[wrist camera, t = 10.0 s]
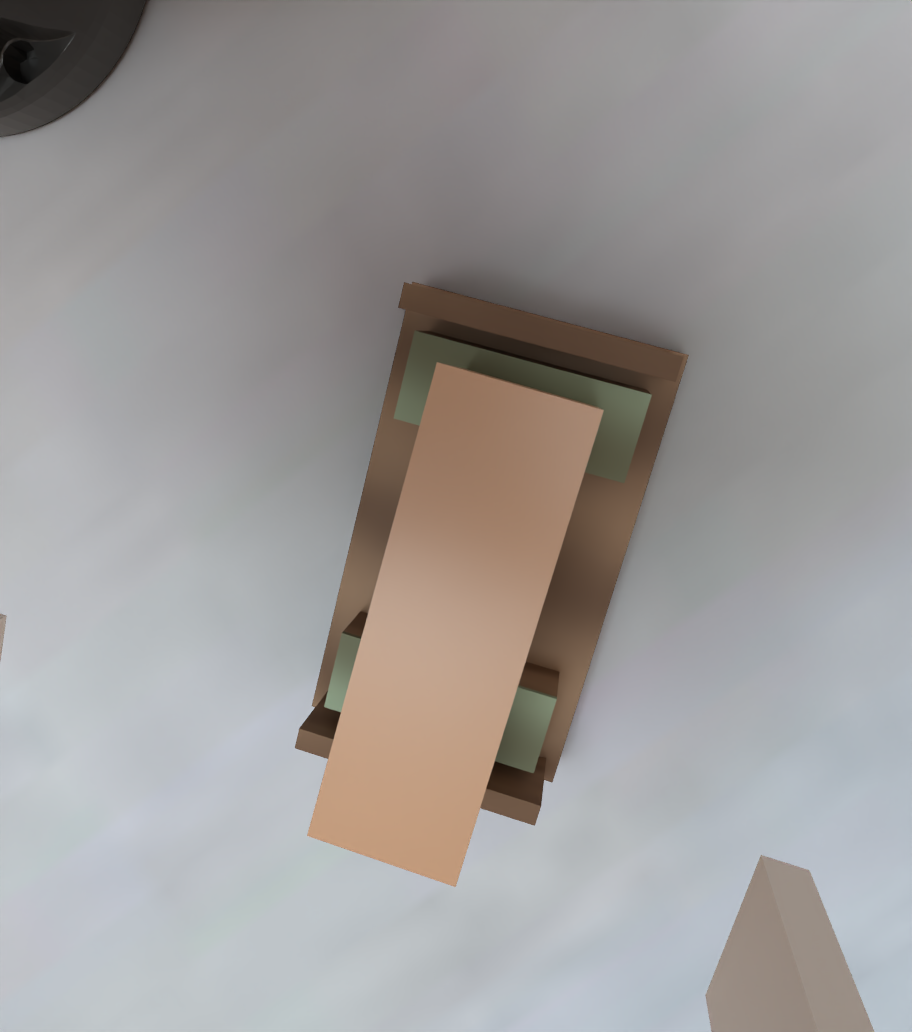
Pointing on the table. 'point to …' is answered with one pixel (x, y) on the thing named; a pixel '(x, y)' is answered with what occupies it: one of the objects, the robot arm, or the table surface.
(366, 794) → the tan rectangular block
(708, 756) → the table surface
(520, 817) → the stand
